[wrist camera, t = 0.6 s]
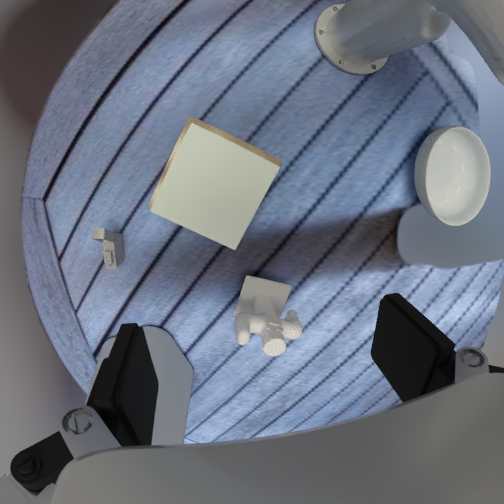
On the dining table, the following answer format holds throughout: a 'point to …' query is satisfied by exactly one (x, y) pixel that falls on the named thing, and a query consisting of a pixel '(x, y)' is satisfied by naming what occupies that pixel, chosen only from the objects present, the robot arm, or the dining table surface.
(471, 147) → the cereal bowl
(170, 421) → the plastic bottle
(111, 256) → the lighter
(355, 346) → the dining table surface
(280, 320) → the figurine
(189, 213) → the sage top block
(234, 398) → the dining table surface
